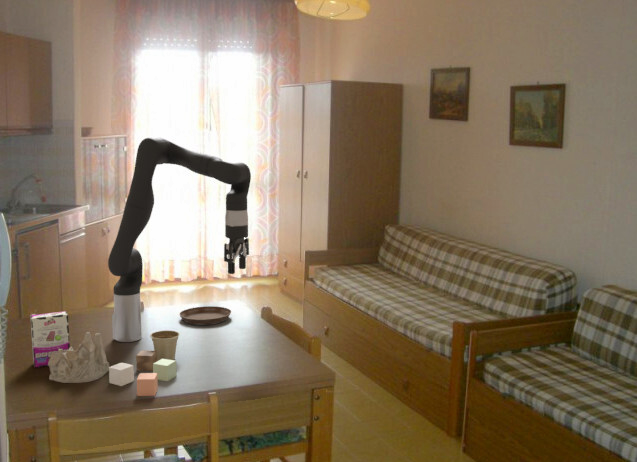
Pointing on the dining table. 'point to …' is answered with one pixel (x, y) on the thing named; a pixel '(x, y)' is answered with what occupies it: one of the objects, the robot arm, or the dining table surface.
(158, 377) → the sage cube
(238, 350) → the dining table surface
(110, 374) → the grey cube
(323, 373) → the dining table surface
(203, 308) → the plant saucer
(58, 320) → the candy bar box
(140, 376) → the terracotta cube
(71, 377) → the ceramic cottage
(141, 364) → the walnut cube
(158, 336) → the flower pot
